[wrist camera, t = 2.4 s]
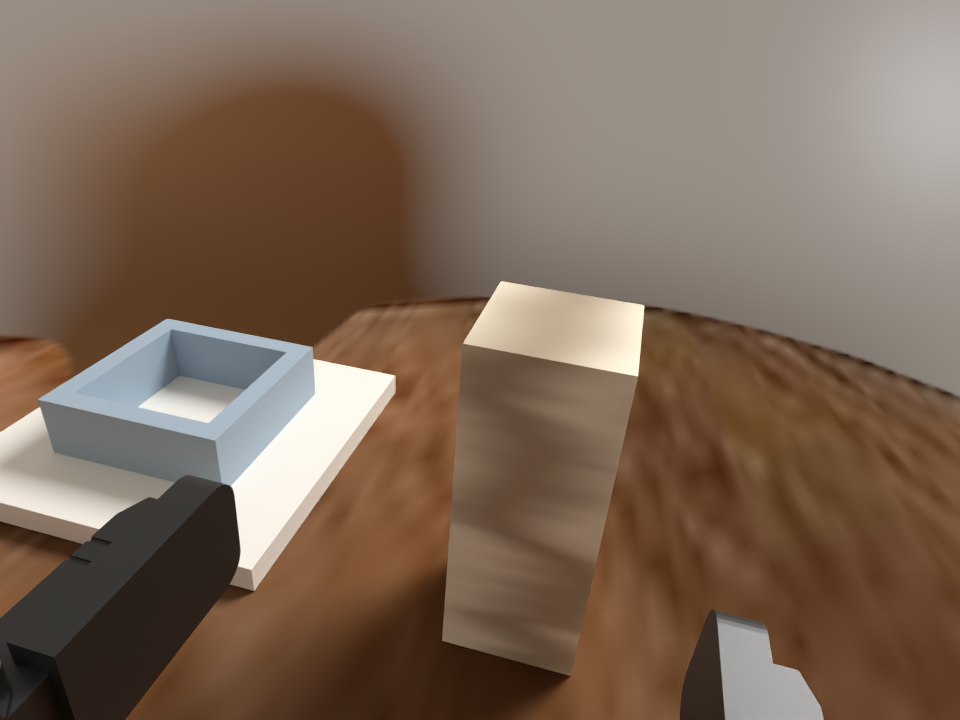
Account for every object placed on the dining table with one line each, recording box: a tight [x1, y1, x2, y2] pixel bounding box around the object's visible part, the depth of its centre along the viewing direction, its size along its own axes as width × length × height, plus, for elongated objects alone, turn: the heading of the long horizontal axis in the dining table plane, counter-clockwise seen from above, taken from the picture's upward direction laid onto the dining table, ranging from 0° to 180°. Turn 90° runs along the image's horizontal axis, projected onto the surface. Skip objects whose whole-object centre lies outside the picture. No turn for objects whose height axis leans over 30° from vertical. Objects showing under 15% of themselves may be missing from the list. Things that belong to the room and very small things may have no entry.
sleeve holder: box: [0, 319, 395, 591], centre depth 34 cm, size 16×16×4 cm
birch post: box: [442, 282, 644, 676], centre depth 24 cm, size 5×5×13 cm
